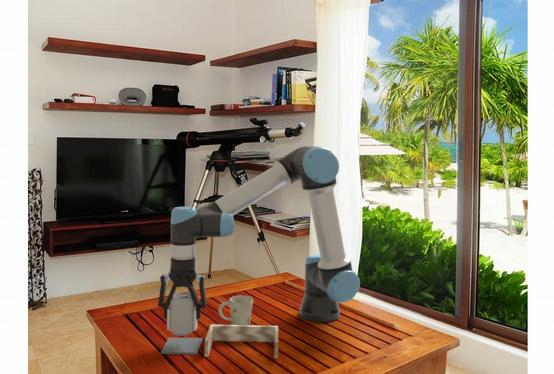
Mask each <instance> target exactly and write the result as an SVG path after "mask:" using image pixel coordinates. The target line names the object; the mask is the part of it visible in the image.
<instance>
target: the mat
mask: <svg viewBox="0 0 554 374" xmlns="http://www.w3.org/2000/svg"><path fill="white" fill-rule="evenodd" d="M203 341H204V340H203V337H170V336H169V337H168V338H167V340H166V342H165V344H164V345H163V347H162V349H161V350H160V354H161V355H198V353H199V350H200V348H201V345H202V343H203Z"/></svg>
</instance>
